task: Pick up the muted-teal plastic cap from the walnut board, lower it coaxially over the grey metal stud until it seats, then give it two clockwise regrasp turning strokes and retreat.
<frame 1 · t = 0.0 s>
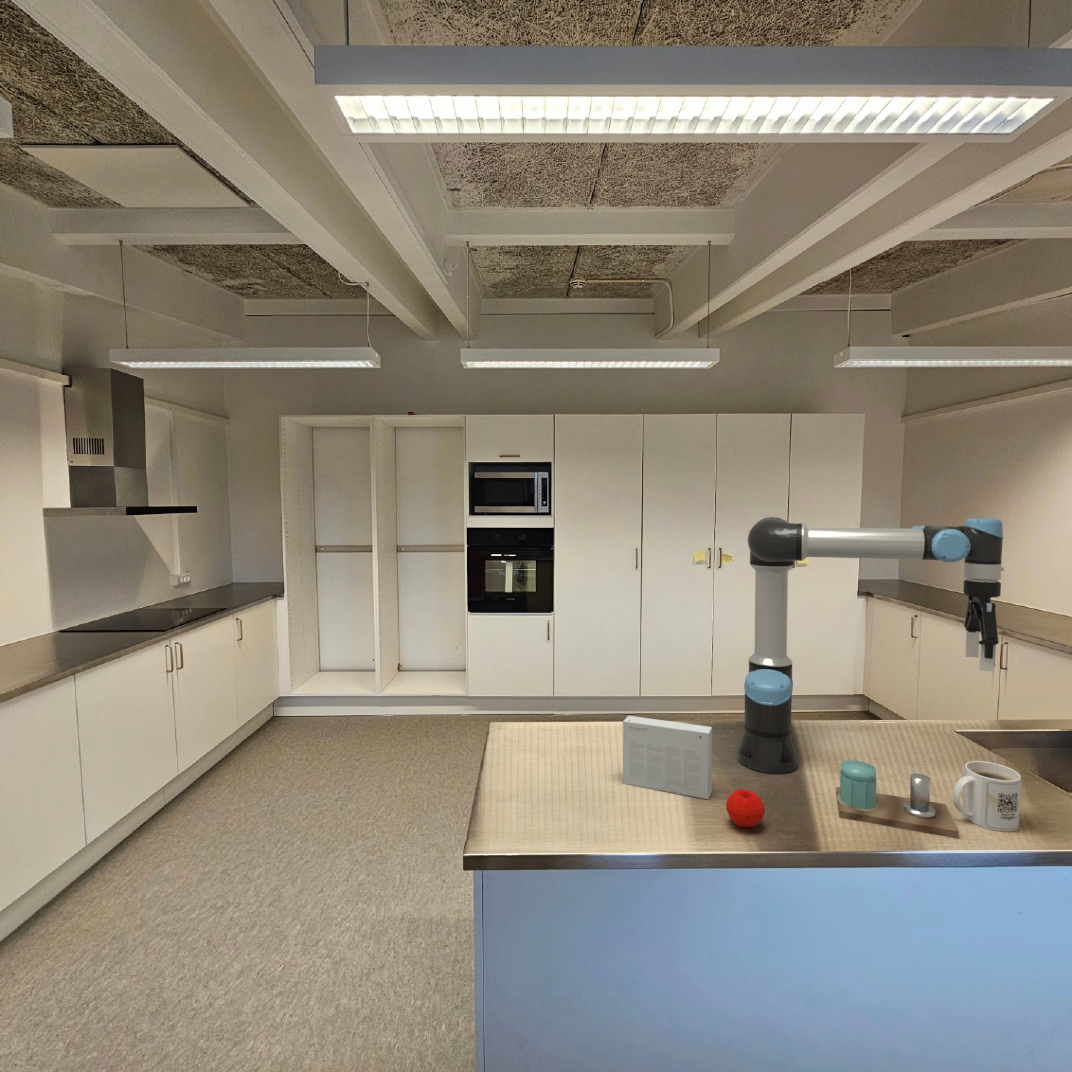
hand: (979, 663, 153), 28 cm above the countertop, fingers open, 13 cm apart
board: (892, 813, 135), on the countertop
cap: (857, 801, 138), point 2 cm above the countertop, touching board
skincare box: (666, 787, 149), on the countertop
mug: (984, 819, 133), on the countertop
apple: (744, 825, 131), on the countertop
stud: (919, 818, 133), resting on board
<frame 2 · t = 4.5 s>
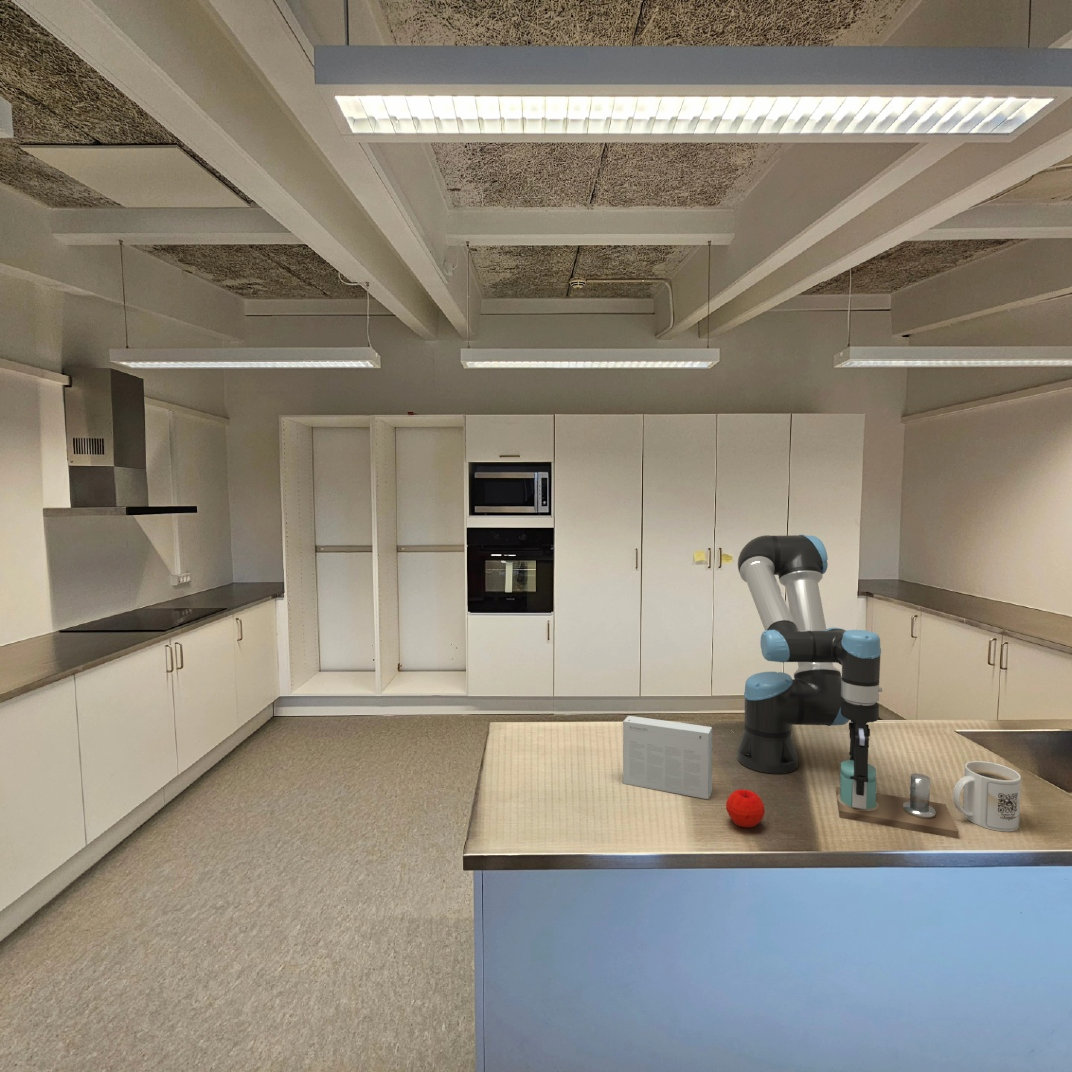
hand: (857, 799, 138), 2 cm above the countertop, fingers closed on cap, 7 cm apart
cap: (857, 801, 138), point 2 cm above the countertop, touching board, gripper
everything else where it was.
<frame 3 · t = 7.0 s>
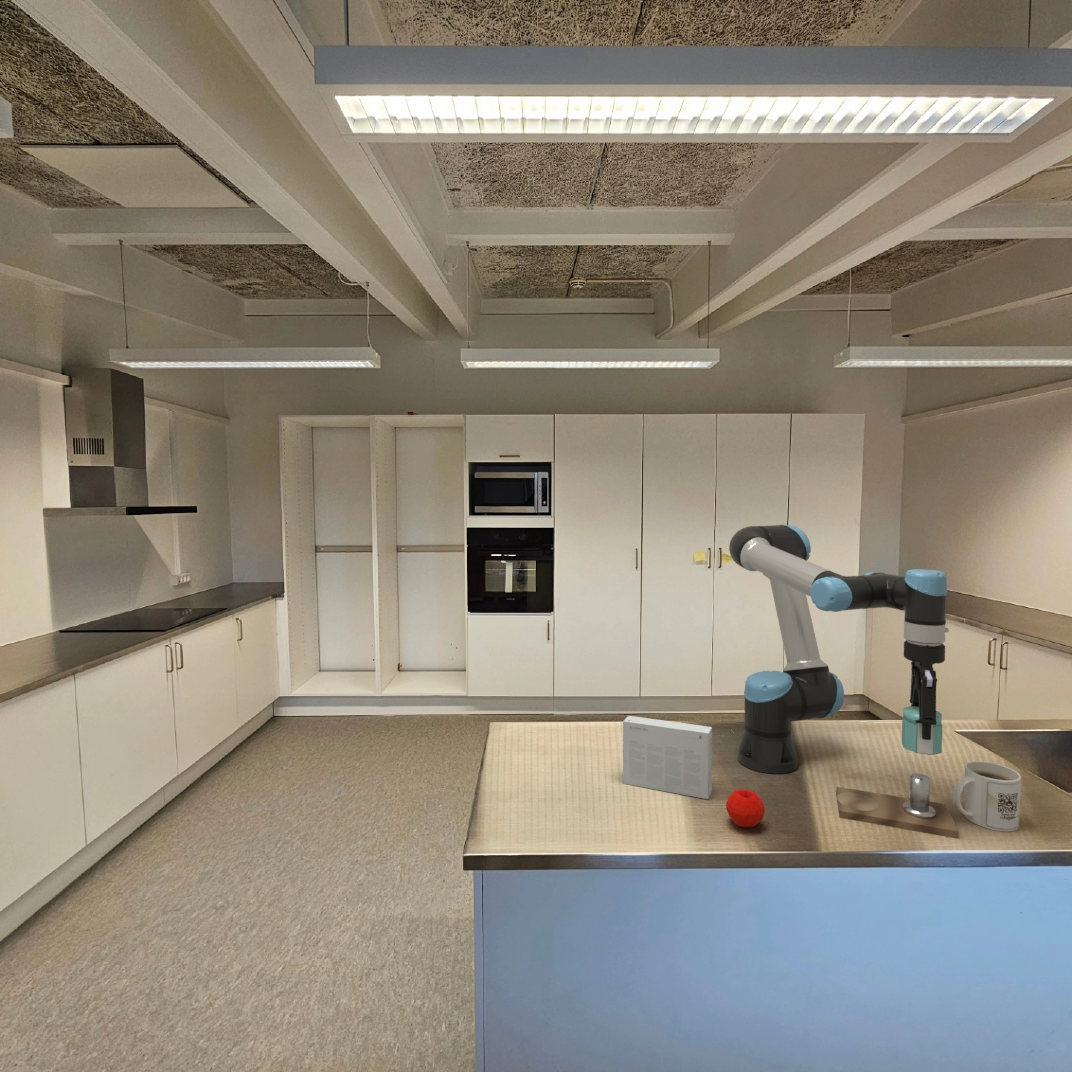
hand: (921, 745, 132), 16 cm above the countertop, fingers closed on cap, 7 cm apart
cap: (921, 747, 132), point 16 cm above the countertop, touching gripper
everything else where it was.
when the fingers open (5 cm above the countertop, at t = 9.8 s): cap drops 1 cm, resting on stud.
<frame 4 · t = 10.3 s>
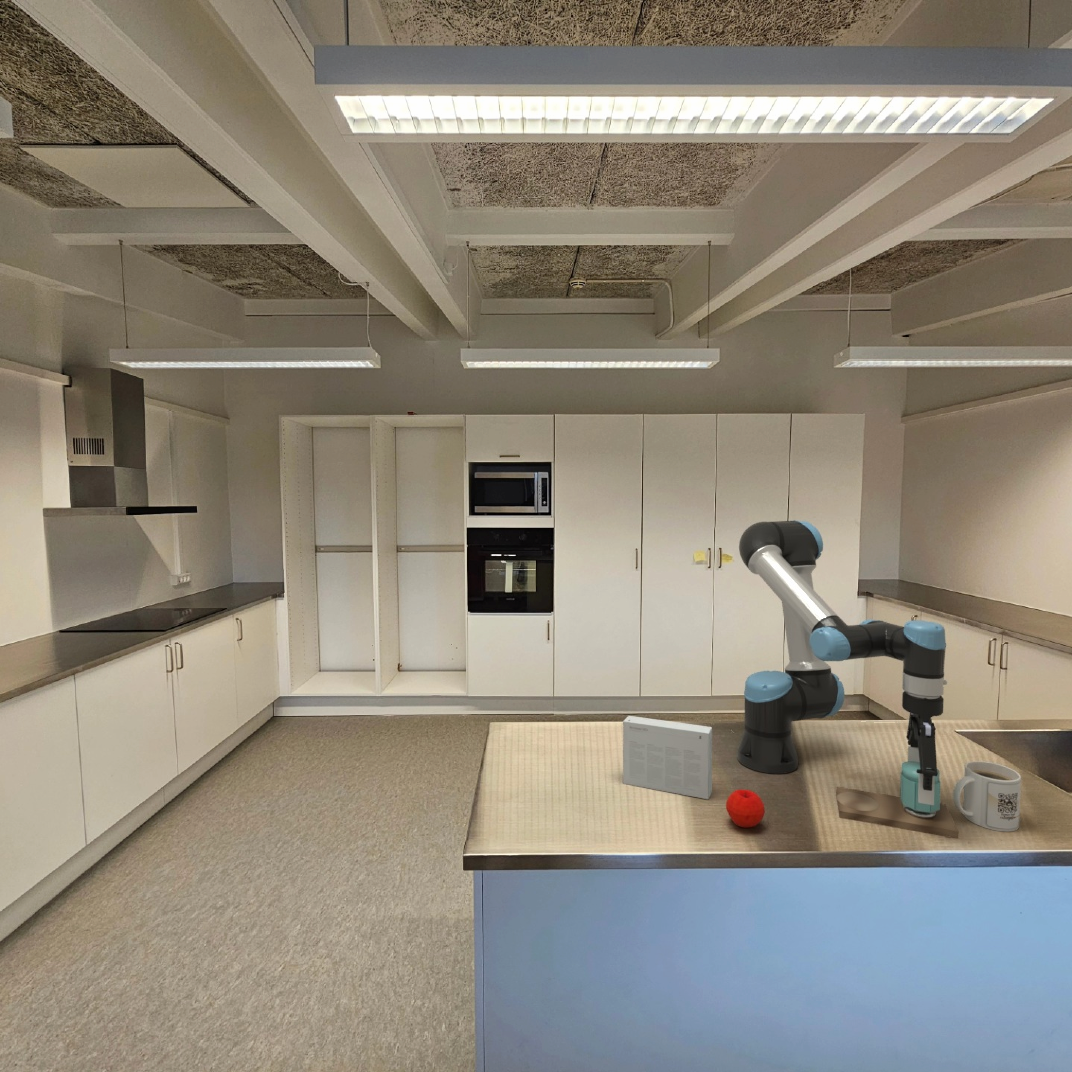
hand: (919, 788, 133), 7 cm above the countertop, fingers open, 13 cm apart
cap: (919, 803, 133), point 3 cm above the countertop, touching stud
everything else where it was.
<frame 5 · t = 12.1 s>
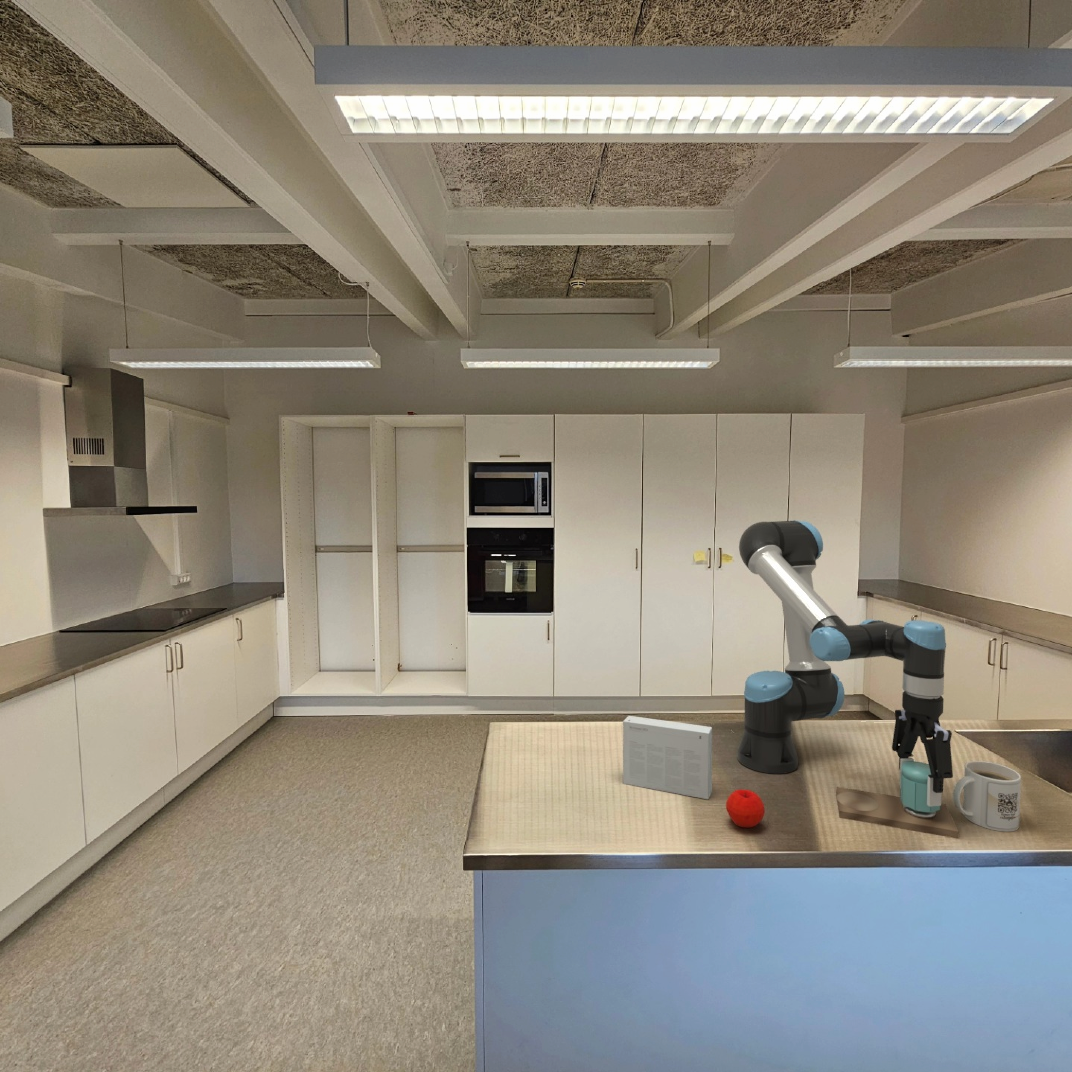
hand: (919, 795, 133), 5 cm above the countertop, fingers closed on cap, 7 cm apart
cap: (919, 803, 133), point 3 cm above the countertop, touching gripper, stud
everything else where it was.
when the fingers open (4 cm above the countertop, at t = 13.2 s): cap stays where it is, resting on stud.
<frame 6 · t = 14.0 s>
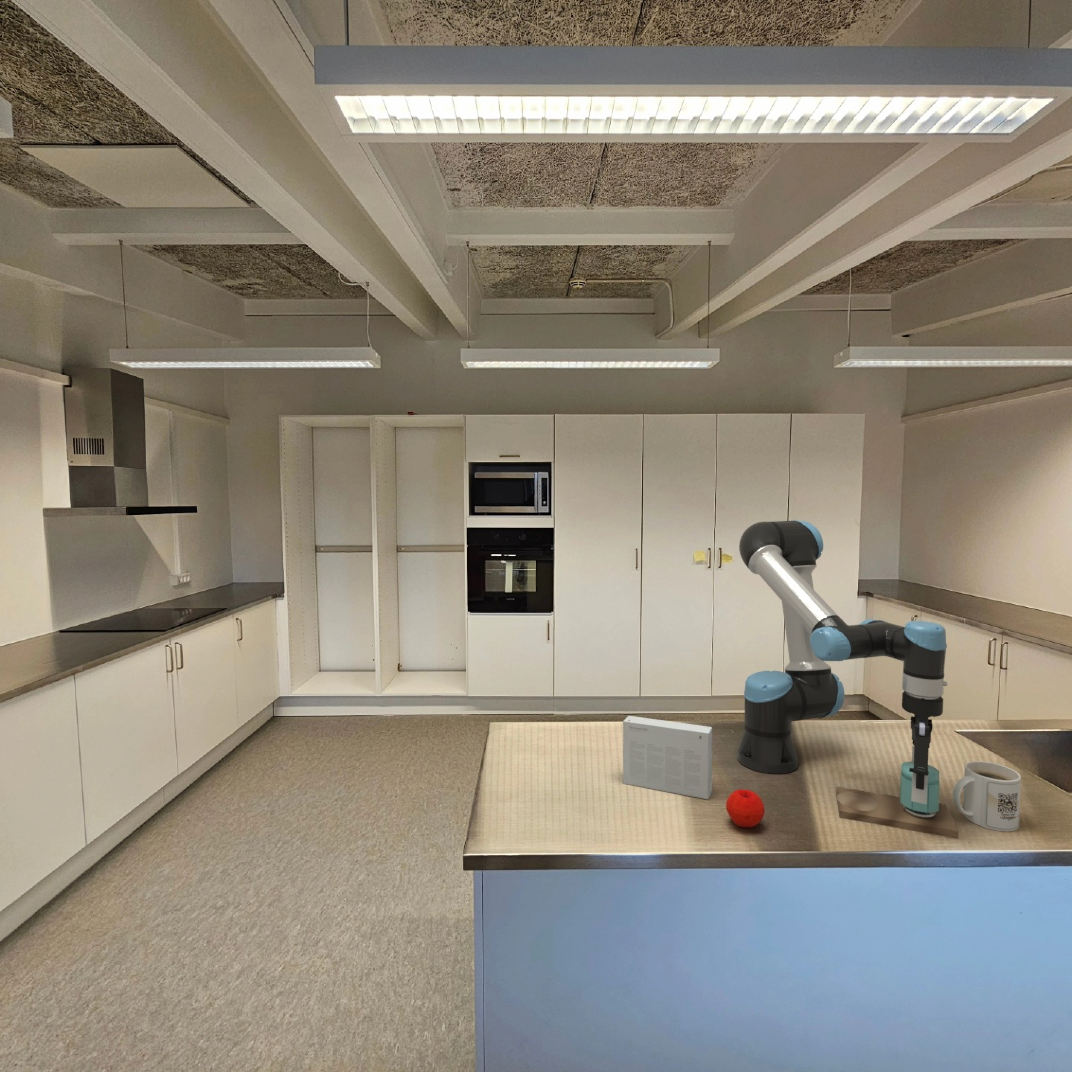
hand: (918, 788, 133), 7 cm above the countertop, fingers open, 13 cm apart
cap: (919, 804, 133), point 3 cm above the countertop, touching stud
everything else where it was.
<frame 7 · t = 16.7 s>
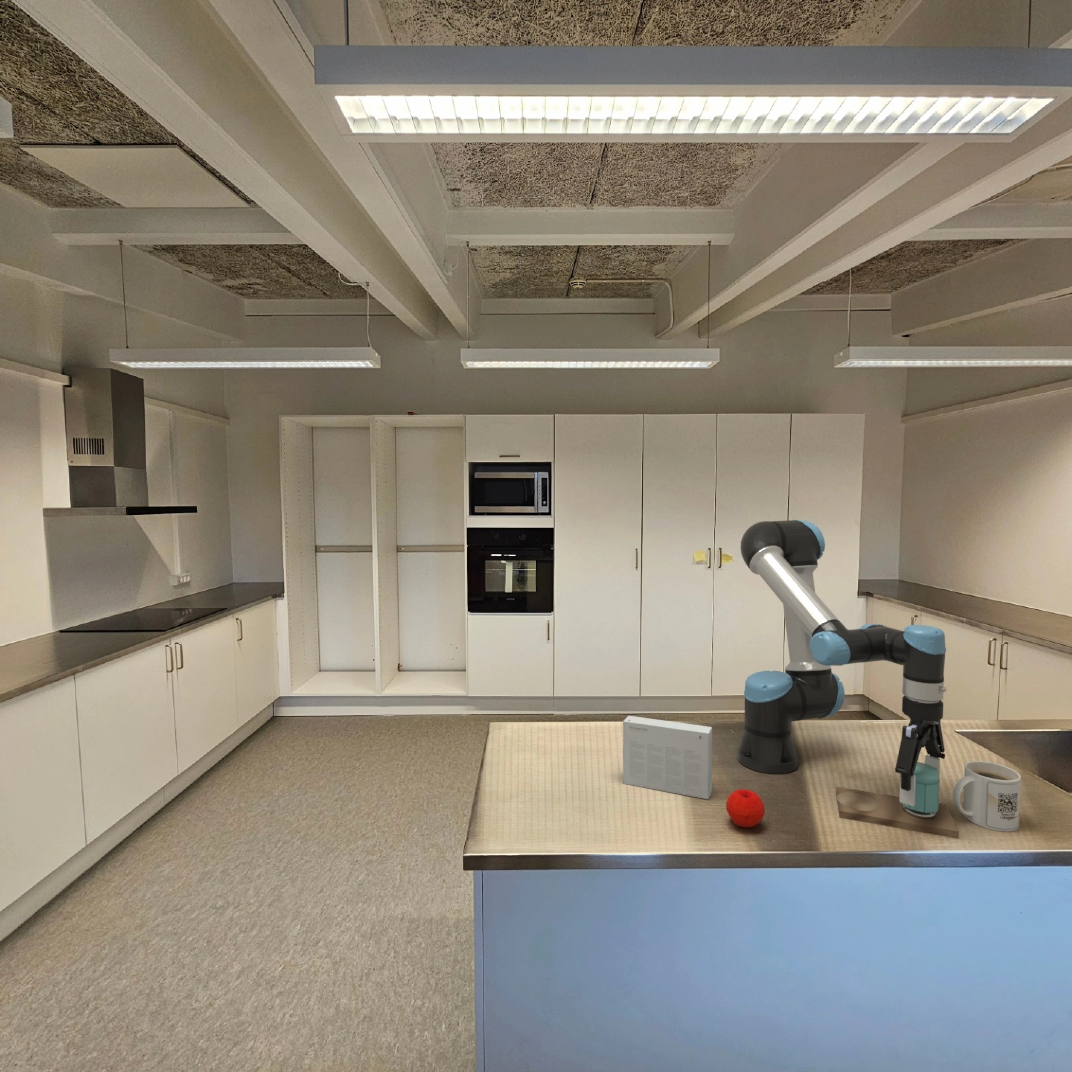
hand: (919, 794, 133), 5 cm above the countertop, fingers open, 12 cm apart
nothing on the countertop moved.
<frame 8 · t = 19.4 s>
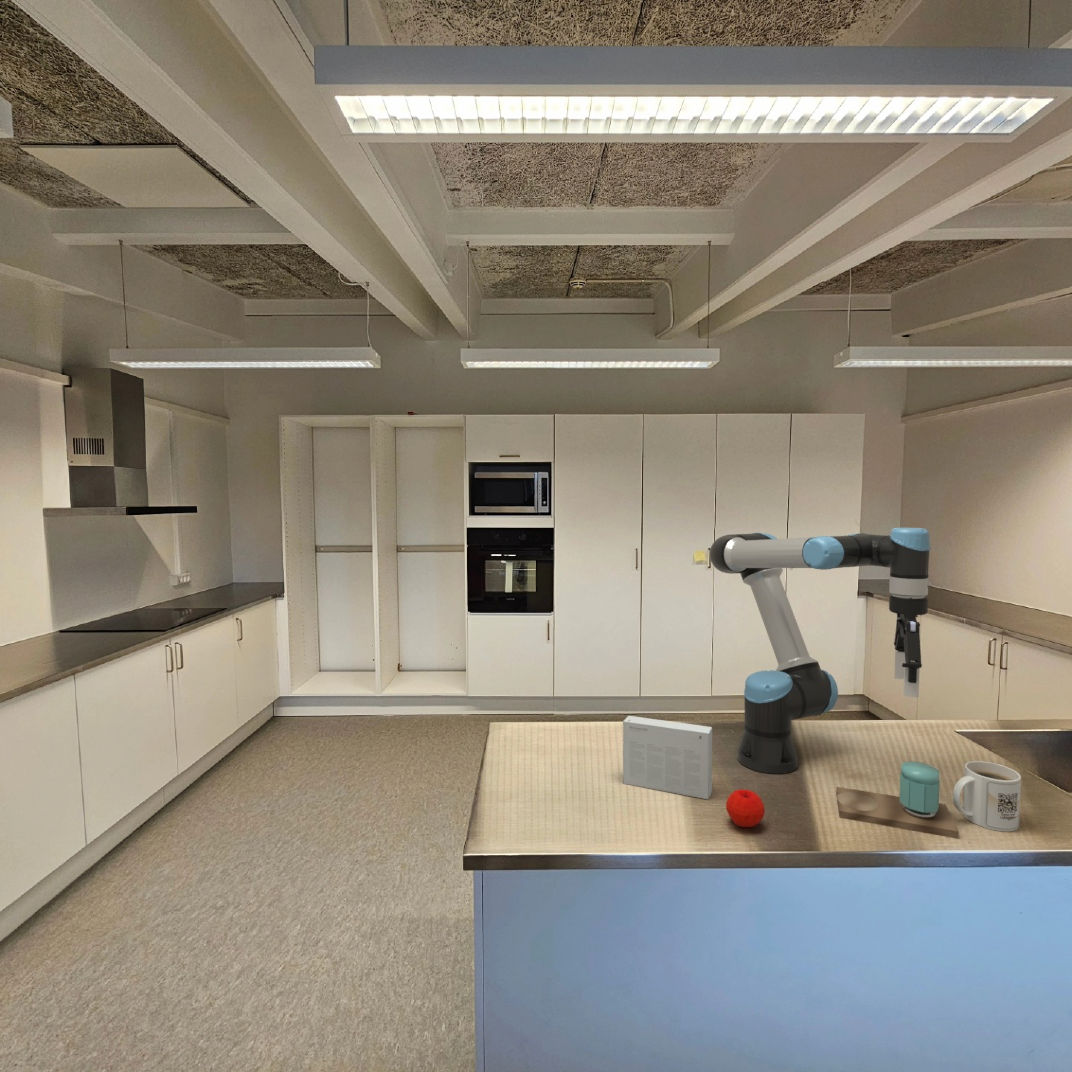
hand: (905, 687, 139), 27 cm above the countertop, fingers open, 13 cm apart
nothing on the countertop moved.
at the end: cap 0.2 cm off-centre on the stud, point 3.3 cm above the stud's base; cap tilted 0°; the gripper is holding nothing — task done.
